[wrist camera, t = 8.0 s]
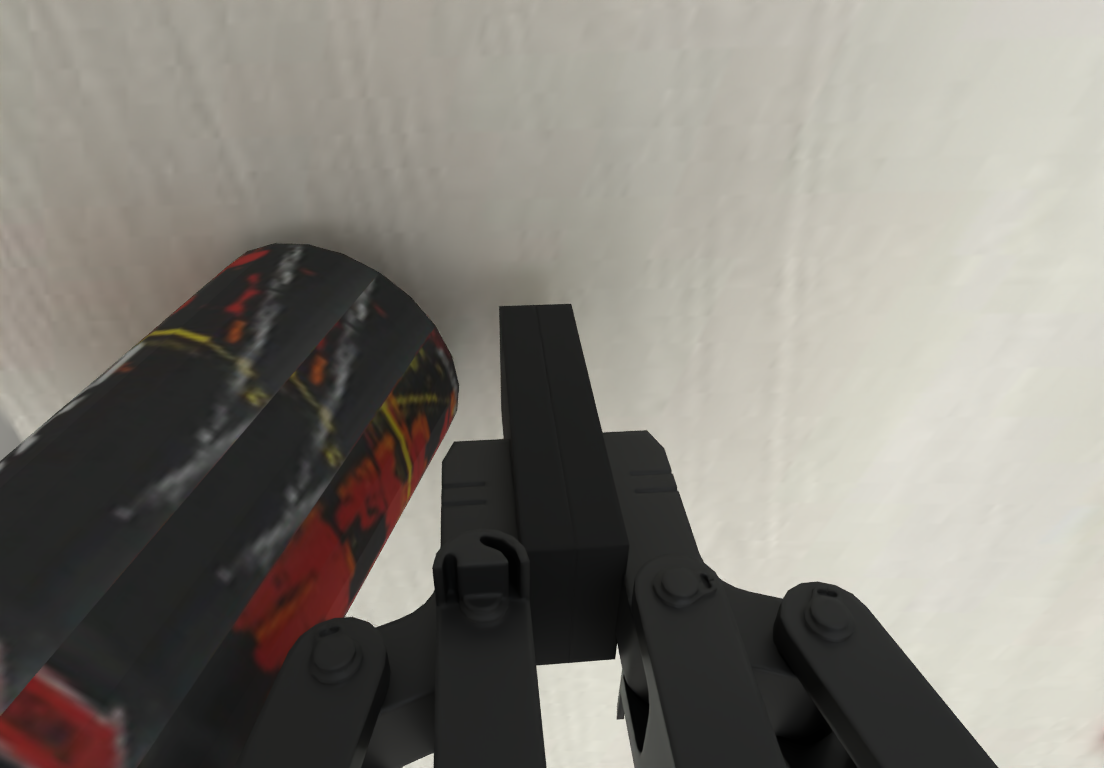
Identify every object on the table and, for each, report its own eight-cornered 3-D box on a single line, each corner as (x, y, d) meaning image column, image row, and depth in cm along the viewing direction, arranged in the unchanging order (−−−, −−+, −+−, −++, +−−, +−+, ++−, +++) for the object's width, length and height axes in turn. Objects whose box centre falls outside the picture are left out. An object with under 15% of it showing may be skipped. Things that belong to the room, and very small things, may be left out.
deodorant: (246, 186, 15) (-1616, 1576, 3) (505, 353, 15) (-306, 1889, 4) (191, 368, 18) (-771, 1300, 7) (400, 493, 19) (-170, 1496, 8)
